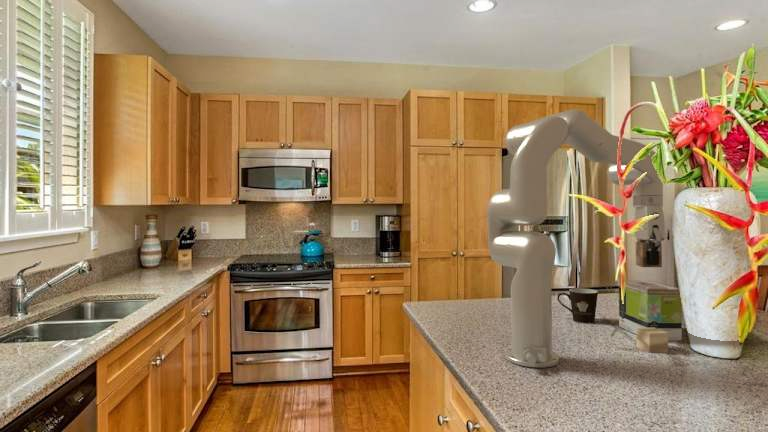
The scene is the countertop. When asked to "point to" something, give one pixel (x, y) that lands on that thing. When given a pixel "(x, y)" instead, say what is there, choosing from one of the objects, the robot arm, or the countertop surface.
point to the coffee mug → (582, 304)
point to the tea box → (651, 308)
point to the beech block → (652, 339)
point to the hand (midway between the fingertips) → (648, 263)
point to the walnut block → (641, 255)
